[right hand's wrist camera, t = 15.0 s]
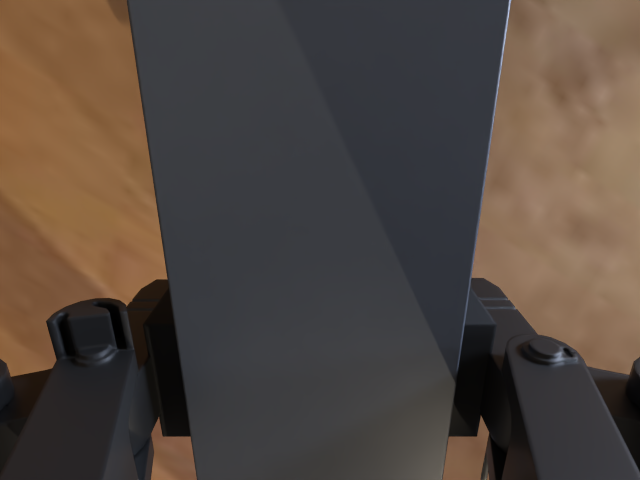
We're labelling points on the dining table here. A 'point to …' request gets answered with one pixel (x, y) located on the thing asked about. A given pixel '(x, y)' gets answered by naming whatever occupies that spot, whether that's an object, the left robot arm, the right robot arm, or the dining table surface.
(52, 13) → the dining table surface
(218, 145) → the bar
